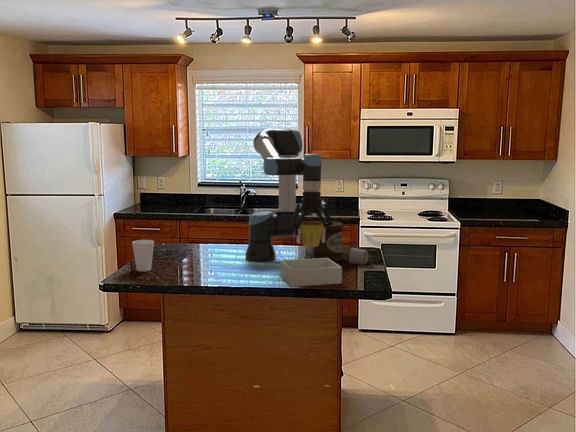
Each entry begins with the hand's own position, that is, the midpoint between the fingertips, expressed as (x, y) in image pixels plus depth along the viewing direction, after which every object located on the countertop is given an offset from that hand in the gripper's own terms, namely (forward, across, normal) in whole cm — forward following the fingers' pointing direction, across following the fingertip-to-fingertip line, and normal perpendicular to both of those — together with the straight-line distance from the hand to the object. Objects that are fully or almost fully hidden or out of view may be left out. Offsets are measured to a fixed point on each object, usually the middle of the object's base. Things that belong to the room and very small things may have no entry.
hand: (310, 242), depth 231 cm
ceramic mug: (+17, +33, +24) cm, 44 cm away
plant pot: (+2, 0, 0) cm, 2 cm away
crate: (+16, 0, 0) cm, 16 cm away
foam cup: (+16, -69, +33) cm, 78 cm away
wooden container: (+16, +21, +37) cm, 46 cm away
